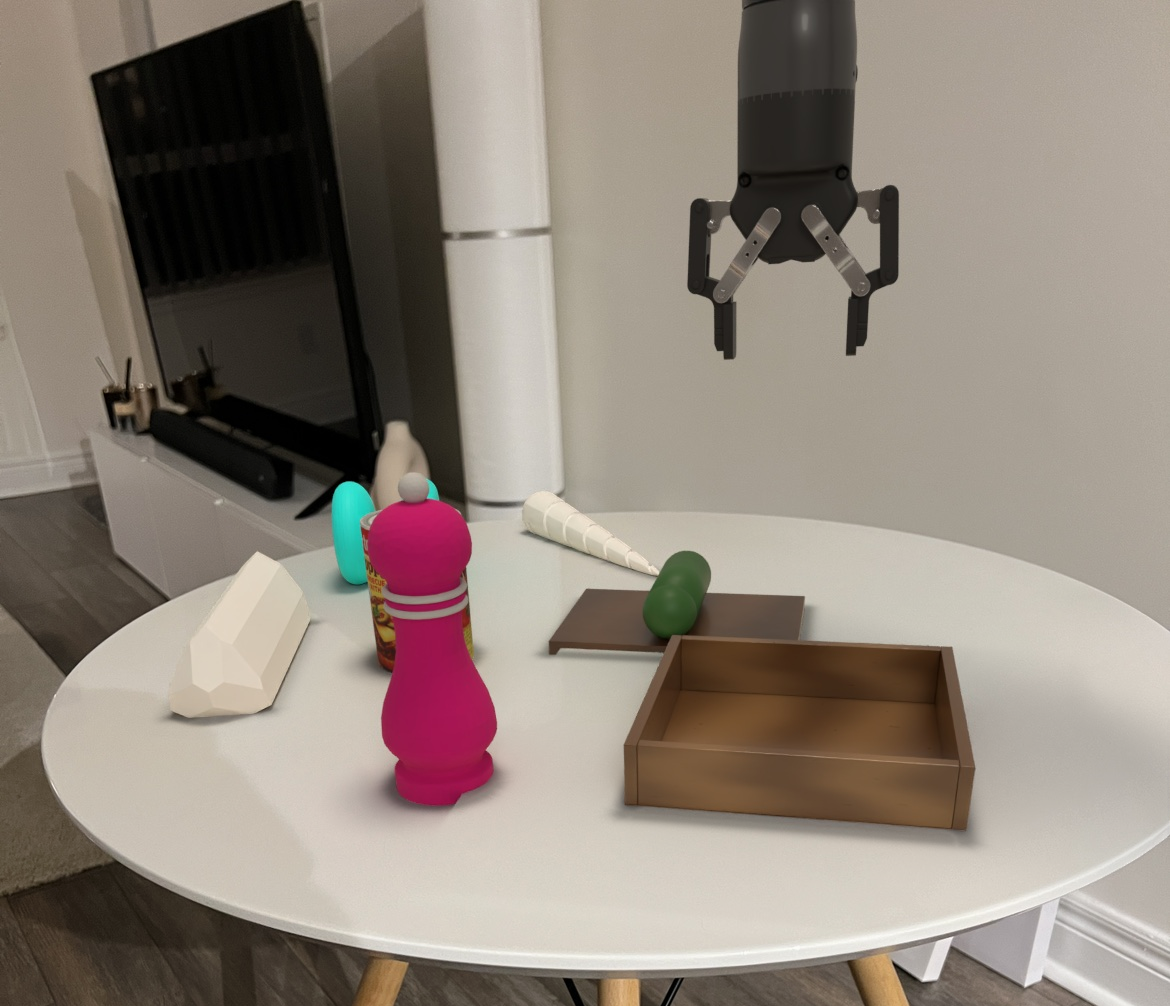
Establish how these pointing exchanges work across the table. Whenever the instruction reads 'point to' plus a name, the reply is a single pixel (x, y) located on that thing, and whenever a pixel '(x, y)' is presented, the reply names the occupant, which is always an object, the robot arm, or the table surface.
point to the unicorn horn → (578, 531)
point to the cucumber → (677, 594)
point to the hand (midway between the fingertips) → (790, 356)
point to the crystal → (242, 644)
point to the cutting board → (621, 627)
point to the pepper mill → (430, 650)
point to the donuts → (354, 528)
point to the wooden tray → (804, 732)
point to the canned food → (384, 620)
